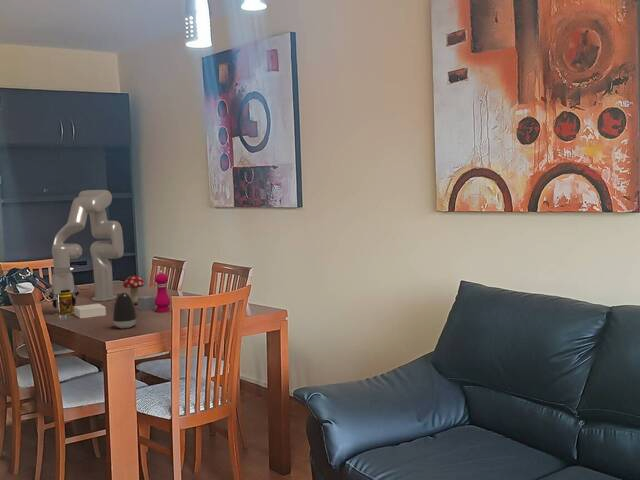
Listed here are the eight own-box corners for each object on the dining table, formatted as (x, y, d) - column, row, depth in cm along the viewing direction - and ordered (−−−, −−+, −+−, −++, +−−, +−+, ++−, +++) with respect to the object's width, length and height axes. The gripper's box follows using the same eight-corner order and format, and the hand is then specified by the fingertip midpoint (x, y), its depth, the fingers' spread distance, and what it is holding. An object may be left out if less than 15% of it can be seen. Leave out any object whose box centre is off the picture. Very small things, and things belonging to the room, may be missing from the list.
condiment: (67, 315, 347) (66, 290, 345) (52, 315, 349) (51, 290, 348) (76, 312, 354) (75, 288, 352) (62, 312, 356) (60, 288, 355)
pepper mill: (173, 310, 351) (171, 269, 350) (165, 313, 345) (163, 271, 343) (160, 309, 354) (158, 269, 352) (152, 312, 347) (150, 271, 345)
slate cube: (138, 309, 357) (137, 297, 357) (148, 307, 362) (148, 295, 361) (145, 310, 353) (144, 298, 353) (155, 308, 357) (154, 296, 357)
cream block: (74, 314, 348) (73, 306, 347) (99, 311, 354) (98, 303, 354) (80, 318, 338) (79, 310, 337) (106, 315, 344) (105, 306, 343)
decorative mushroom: (125, 307, 363) (123, 277, 362) (122, 304, 373) (120, 275, 372) (147, 305, 367) (146, 276, 366) (144, 302, 378) (142, 273, 376)
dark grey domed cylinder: (130, 323, 322) (128, 290, 320) (141, 326, 314) (139, 292, 313) (108, 327, 315) (106, 293, 314) (119, 330, 307) (117, 295, 306)
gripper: (78, 268, 357) (80, 303, 359) (41, 272, 348) (44, 308, 350) (82, 270, 351) (84, 305, 352) (44, 273, 342) (47, 310, 343)
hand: (64, 306), depth 351 cm, fingers open, 7 cm apart
